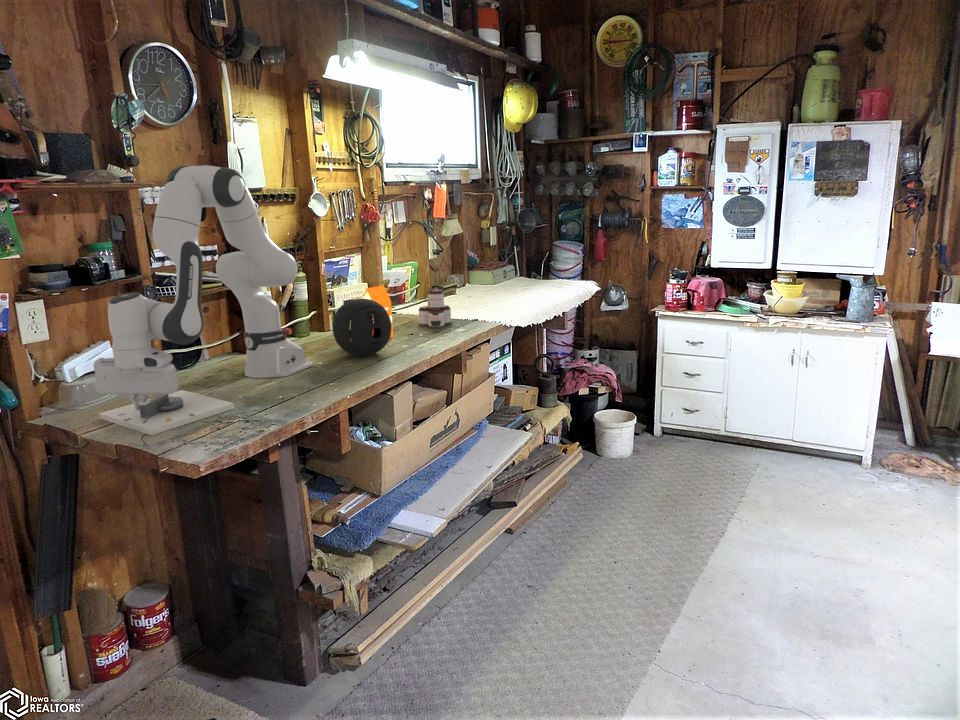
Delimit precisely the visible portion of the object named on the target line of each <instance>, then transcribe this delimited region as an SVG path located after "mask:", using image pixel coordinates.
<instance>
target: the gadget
mask: <svg viewBox="0 0 960 720" xmlns="http://www.w3.org/2000/svg"><path fill="white" fill-rule="evenodd" d="M372 315H373V317H372ZM373 321H374V323H373ZM392 328H393V325H392V326H391V320H390V317H389V315H388V313H387V311H386V310H385V308H384V307H383V306H382V305H380V304H379V303H378V302H376V301H373V300H370V299H362V298H356V299H351V300H349V301H346V302H345V303H343V304H342V305H341V306H340V307H339V308H338V309H337V310H336V312H335V313H334V317H333V320H332V334H333V337H334V339H335V342H336V343H337V345H338V347H339V348H341V349H342V351H343V352H346V353H348V354H349V355H353V356H357V357H360V356H361V357H366V356H367V357H368V356H371V355H374V354H376V353H379V352H380V351H381V350H383V349H384V348H385V347H386V345H387V344H388V342H389V340H390V338H391V337H390V335H391V329H392ZM372 335H373V336H372Z"/></svg>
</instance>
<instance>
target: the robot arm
mask: <svg viewBox="0 0 960 720" xmlns="http://www.w3.org/2000/svg"><path fill="white" fill-rule="evenodd" d="M203 208H215V212H216V214H217V216H218V217H217V218H218V220H219V223H220V225H221V228H222V232H223V233H224V237H225V239H226V241H227V243H229V244H230V245H231V246H232V247H234V248H236V249H238V250H240V251H233V252H229V253H225V254H222V255H220V256H219V258H218V260H217V261H216V264H215V273H216V275H217V277H218V279H219V281H220V282H221V283H222V284H224V285H225V286H226V287H227V288H229V289H230V290H231V292H232V293H233V295H234V296H235V297H236V299H237V300H238V303H239V306H240V307H241V308H240V309H241V312H242V318H243V324H244V325H243V326H244V331H243V337H244V338H243V339H244V344H245V348H246V350H245V351H246V359H245V360H246V361H245V369H244V374H243V375H244V376H245V377H248V378H252V379H253V378H254V379H255V378H256V379H257V378H259V379H265V378H277V377H279V378H280V377H282V378H283V377H288V376H291V375H293V374H296V373H298V372H301V371H303V370H306V369H307V368H308V369H309V368H311V367H313V366H314V362H313V361H311V360H309V359H306V354H305V351H304V349H303V348H302V346H300V345H298V344H297V343H295V342H293V341H292V340H290V339H289V338H288V337H287V335H292V334H293V330H292V328H290V327H289V328H288V327H285V328H283V327H282V324H281V315H280V314H281V313H280V306H279V305H278V303H277V301H275V300H274V299H272V298H270V297H269V296H267V294H265V292H264V291H263V289H262V288H272V287H273V288H274V287H275V288H278V287H282V286H288V285H291V284H293V283H294V282H295V280H296V278H297V276H298V269H299V268H298V263H297V262H296V259H295V258H294V256H293V255H292V254H290V253H288V252H287V251H284V249H281V248H280V247H279V246H278V245H276V244H275V242H273V240H272V239H271V238H270V237H269V235H268V234H267V233H266V230H265V229H264V226H263V224H262V221H261V218H260V215H259V214H258V210H257V206H256V204H255V201H254V200H253V196H252V195H251V192H250V190H249V189H248V187H247V184H246V182H245V180H244V178H243V176H242V175H241V173H240V172H238V171H237V170H235V169H233V168H229V167H226V166H225V167H223V166H222V167H220V166H215V165H206V164H205V165H190V166H189V165H181V166H176V167H174V168H173V169H171V171H170V172H169V173H168V175H167V178H166V183H165V185H164V186H163V188H162V190H161V193H160V195H159V198H158V201H157V205H156V209H155V213H154V219H153V226H152V241H153V244H154V245H155V247H156V249H158V250H159V251H160V253H162V254H163V255H165V257H168V258H169V259H170V260H171V261H172V263H173V264H174V267H175V269H176V284H175V299H174V301H173V303H168V302H164V301H158V300H154V299H151V298H148V297H146V296H144V295H142V293H139V292H135V291H134V292H125V293H121V294H118V295H115V296H113V297H111V299H110V300H109V302H108V305H107V306H108V307H107V315H108V316H107V317H108V318H107V319H108V327H109V328H108V329H109V332H110V334H111V338H112V345H111V349H112V355H113V357H107V358H106V357H100V358H98V359H96V360H95V361H94V363H93V371H94V373H95V374H94V388H95V391H96V393H98V395H128V399H129V400H130V401H131V403H132V404H135V410H137V411H138V410H140V408H139V402H141V401H144V400H148V399H147V398H148V396H149V395H161V394H172V393H174V392H177V391H178V389H179V388H180V382H179V381H180V380H179V376H178V372H177V369H176V366H175V364H173V363H171V362H173V360H174V359H173V355H172V353H170V352H166V351H163V350H159V349H156V348H154V347H152V340H154V339H157V340H160V341H167V342H171V343H175V344H177V345H184V346H186V345H190V344H192V343H195V341H196V340H198V338H200V336H201V334H202V333H203V329H204V325H205V324H204V315H203V311H202V310H203V309H202V294H203V293H202V292H203V270H204V269H203V268H204V265H203V264H204V259H203V253H202V250H201V248H200V240H199V238H200V231H201V230H200V229H201V222H202V221H201V220H202V210H203Z"/></svg>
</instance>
